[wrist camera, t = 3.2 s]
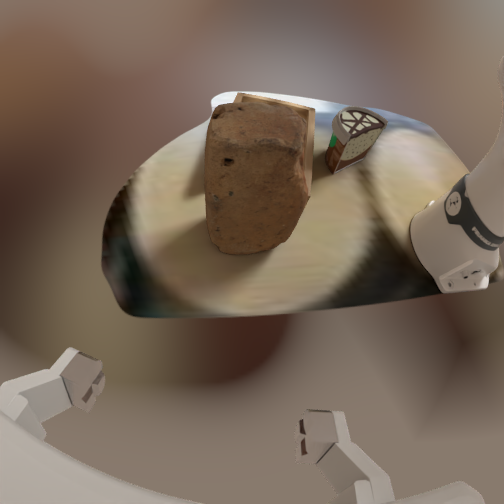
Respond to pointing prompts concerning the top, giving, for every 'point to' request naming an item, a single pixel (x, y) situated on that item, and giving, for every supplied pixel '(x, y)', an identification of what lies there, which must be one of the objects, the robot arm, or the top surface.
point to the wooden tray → (310, 119)
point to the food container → (352, 136)
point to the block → (254, 176)
